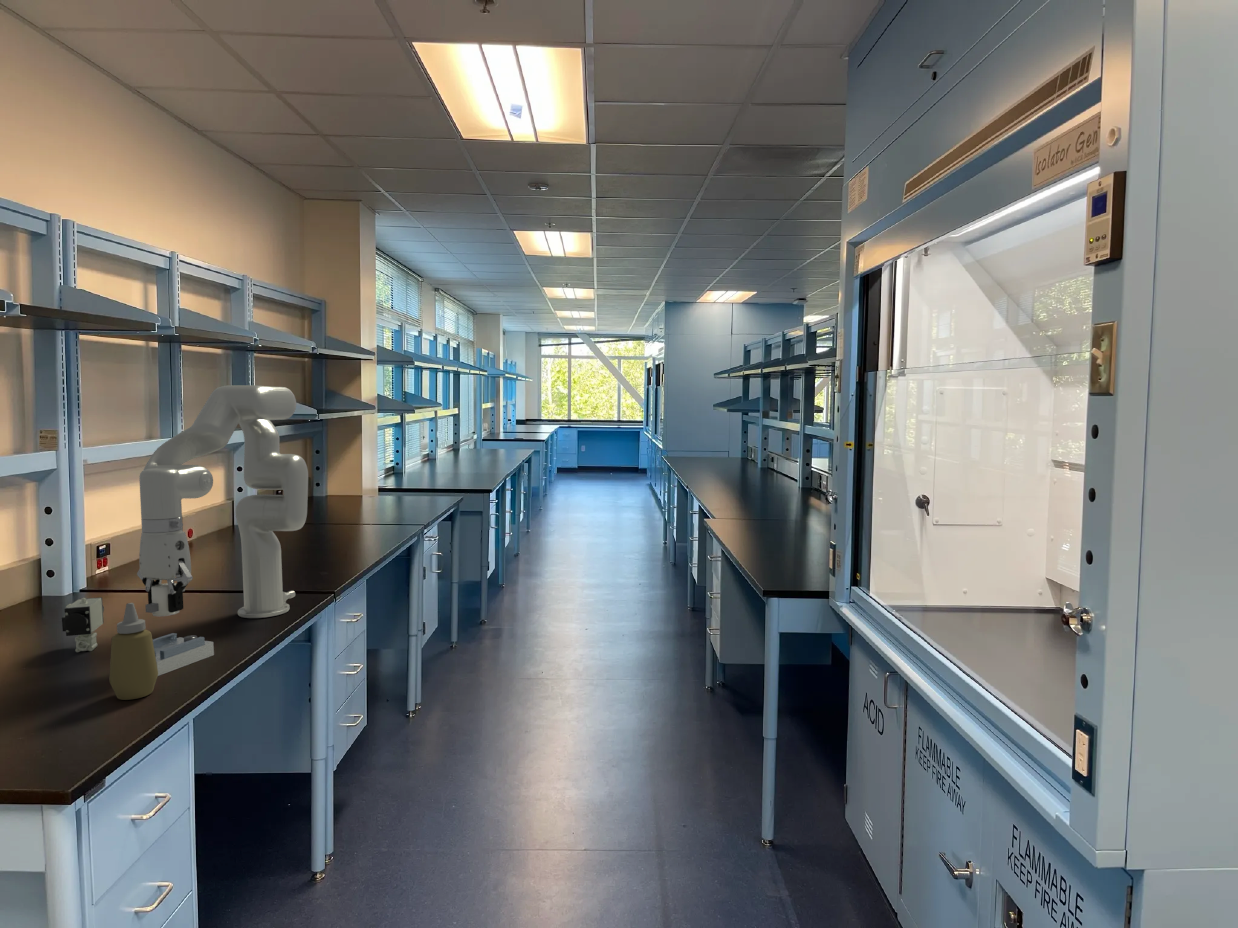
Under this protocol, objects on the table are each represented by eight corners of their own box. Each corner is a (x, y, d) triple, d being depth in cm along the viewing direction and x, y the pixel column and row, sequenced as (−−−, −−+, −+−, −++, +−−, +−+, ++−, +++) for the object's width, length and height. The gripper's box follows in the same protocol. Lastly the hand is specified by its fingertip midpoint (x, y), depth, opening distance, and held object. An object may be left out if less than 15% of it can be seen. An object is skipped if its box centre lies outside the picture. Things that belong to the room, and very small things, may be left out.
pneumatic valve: (106, 640, 183) (103, 591, 182) (89, 656, 172) (86, 603, 170) (79, 643, 181) (76, 592, 180) (60, 659, 170) (57, 605, 169)
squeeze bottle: (167, 686, 153) (163, 597, 152) (144, 702, 145) (139, 608, 144) (126, 687, 153) (121, 598, 152) (100, 703, 145) (94, 609, 143)
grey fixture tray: (180, 650, 176) (179, 630, 175) (213, 654, 172) (212, 634, 172) (122, 670, 163) (121, 649, 162) (157, 676, 159) (156, 654, 159)
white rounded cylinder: (167, 609, 169) (166, 582, 169) (184, 611, 168) (183, 584, 167) (140, 616, 163) (138, 589, 163) (157, 619, 162) (156, 590, 161)
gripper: (207, 525, 166) (210, 608, 167) (148, 521, 171) (152, 602, 173) (176, 530, 159) (180, 617, 160) (116, 526, 164) (121, 610, 166)
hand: (166, 608), depth 166 cm, fingers closed on white rounded cylinder, 5 cm apart
